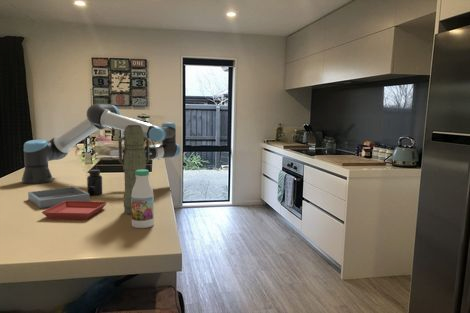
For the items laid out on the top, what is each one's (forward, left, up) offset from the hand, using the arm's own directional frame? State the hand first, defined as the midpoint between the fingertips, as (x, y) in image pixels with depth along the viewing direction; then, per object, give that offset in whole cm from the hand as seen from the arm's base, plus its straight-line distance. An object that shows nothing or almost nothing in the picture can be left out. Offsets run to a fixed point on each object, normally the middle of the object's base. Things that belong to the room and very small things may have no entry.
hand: (115, 154), depth 177 cm
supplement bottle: (0, -11, -19) cm, 22 cm away
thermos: (+40, -10, -19) cm, 45 cm away
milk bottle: (+58, -16, -19) cm, 63 cm away
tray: (+2, -28, -19) cm, 34 cm away
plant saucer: (+28, -29, -19) cm, 44 cm away
